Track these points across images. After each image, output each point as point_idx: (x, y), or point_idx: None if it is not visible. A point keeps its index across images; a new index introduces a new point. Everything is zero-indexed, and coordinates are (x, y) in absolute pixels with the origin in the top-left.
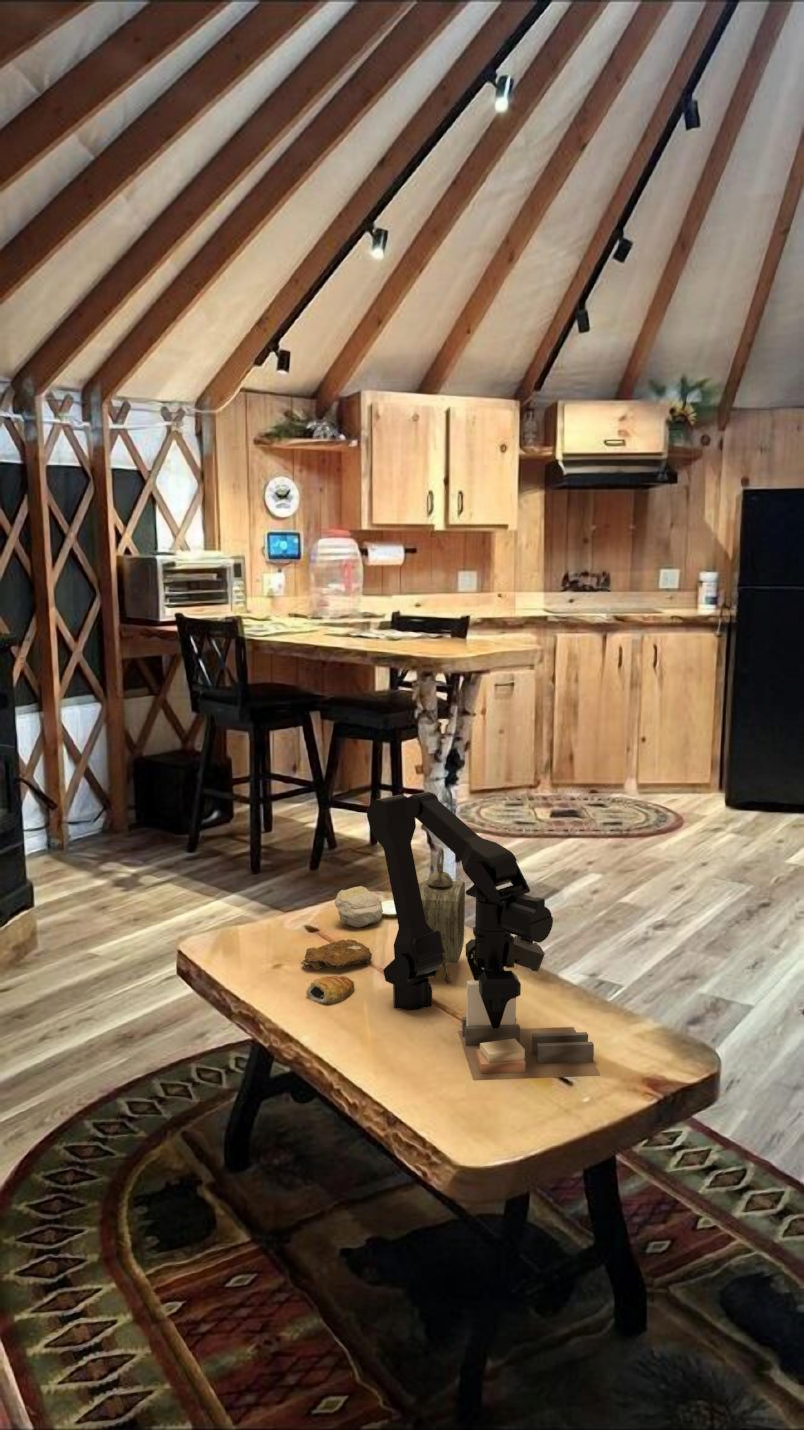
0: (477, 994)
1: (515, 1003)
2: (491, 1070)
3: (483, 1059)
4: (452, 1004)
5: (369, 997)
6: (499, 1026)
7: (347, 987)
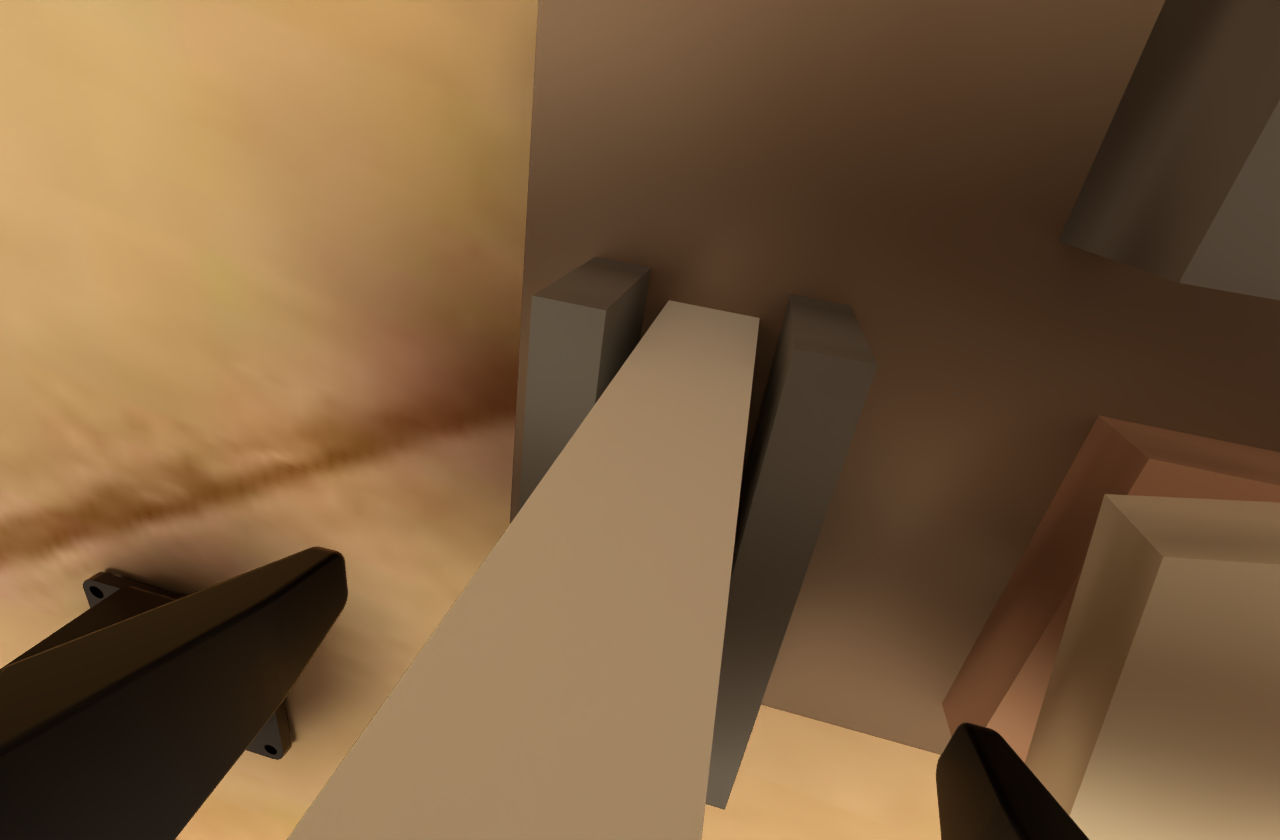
0: None
1: (728, 548)
2: None
3: None
4: (77, 445)
5: None
6: (1010, 747)
7: None
